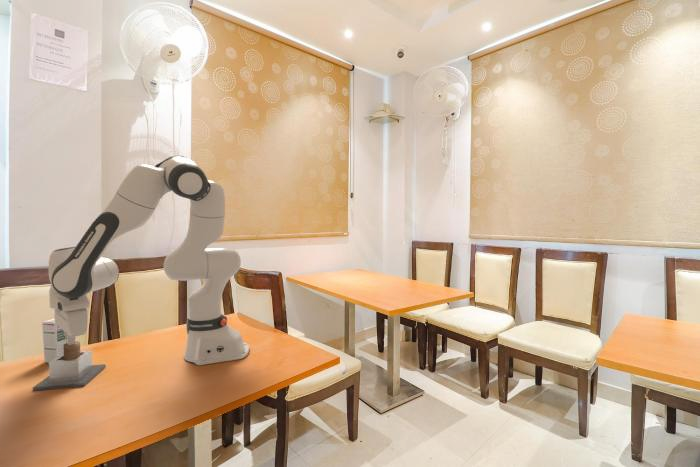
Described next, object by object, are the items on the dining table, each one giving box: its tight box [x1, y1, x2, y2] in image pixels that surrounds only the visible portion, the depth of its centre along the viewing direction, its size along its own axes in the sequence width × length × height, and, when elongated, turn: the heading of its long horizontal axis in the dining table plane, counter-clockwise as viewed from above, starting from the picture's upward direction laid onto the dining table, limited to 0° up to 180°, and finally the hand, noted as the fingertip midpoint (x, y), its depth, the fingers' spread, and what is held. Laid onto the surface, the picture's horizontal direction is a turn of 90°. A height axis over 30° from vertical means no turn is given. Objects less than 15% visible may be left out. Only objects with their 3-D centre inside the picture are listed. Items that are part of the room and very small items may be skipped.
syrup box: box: [41, 318, 66, 364], centre depth 119 cm, size 6×6×14 cm
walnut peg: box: [63, 340, 81, 360], centre depth 106 cm, size 4×4×10 cm
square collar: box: [32, 350, 106, 392], centre depth 106 cm, size 13×13×7 cm
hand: (70, 343), depth 105 cm, fingers closed
